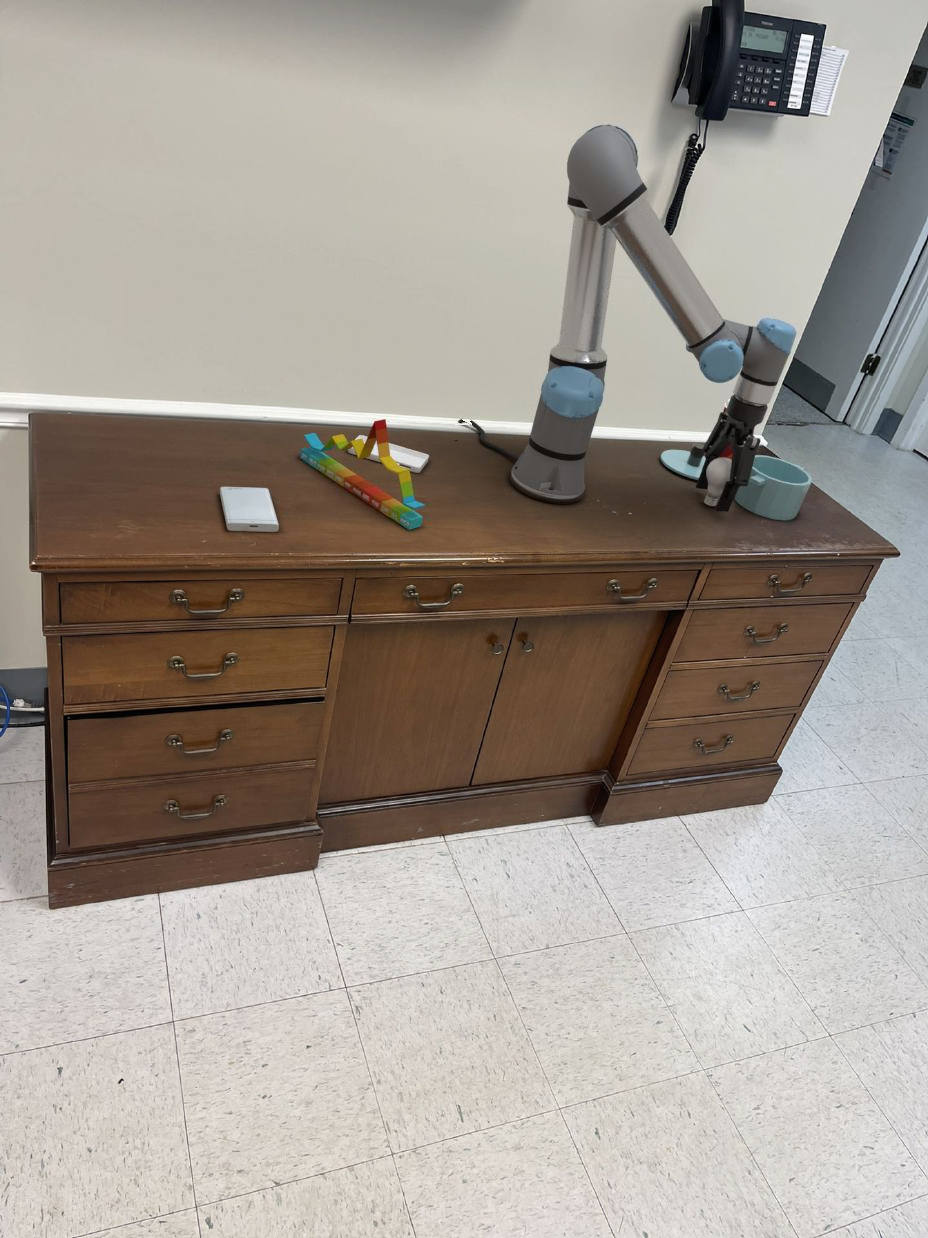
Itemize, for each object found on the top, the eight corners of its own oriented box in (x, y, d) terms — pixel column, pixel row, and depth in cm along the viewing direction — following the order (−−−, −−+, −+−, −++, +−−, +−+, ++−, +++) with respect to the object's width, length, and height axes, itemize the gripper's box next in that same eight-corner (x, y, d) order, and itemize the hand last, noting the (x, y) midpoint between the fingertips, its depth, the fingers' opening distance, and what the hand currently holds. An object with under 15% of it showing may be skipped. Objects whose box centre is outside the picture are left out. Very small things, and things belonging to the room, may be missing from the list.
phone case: (428, 460, 186) (359, 440, 187) (429, 454, 185) (360, 434, 186) (418, 474, 179) (346, 452, 181) (419, 467, 179) (347, 446, 180)
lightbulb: (692, 505, 194) (710, 458, 188) (697, 495, 199) (714, 449, 193) (721, 515, 192) (740, 468, 186) (725, 505, 198) (744, 459, 192)
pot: (714, 497, 200) (728, 461, 196) (760, 483, 213) (774, 449, 208) (768, 527, 192) (784, 491, 188) (813, 511, 205) (829, 477, 200)
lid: (646, 459, 211) (654, 436, 208) (684, 450, 221) (692, 428, 218) (699, 488, 203) (708, 465, 200) (735, 478, 212) (744, 455, 209)
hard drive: (220, 485, 156) (227, 522, 146) (268, 487, 159) (279, 523, 149) (219, 494, 157) (227, 531, 147) (268, 496, 160) (278, 532, 150)
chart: (299, 458, 174) (307, 383, 166) (312, 455, 177) (321, 381, 168) (408, 530, 159) (423, 451, 151) (421, 526, 162) (436, 448, 154)
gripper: (793, 423, 175) (750, 526, 187) (742, 381, 192) (705, 477, 205) (759, 419, 173) (718, 523, 185) (710, 376, 190) (675, 474, 202)
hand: (711, 499), depth 195 cm, fingers open, 9 cm apart
